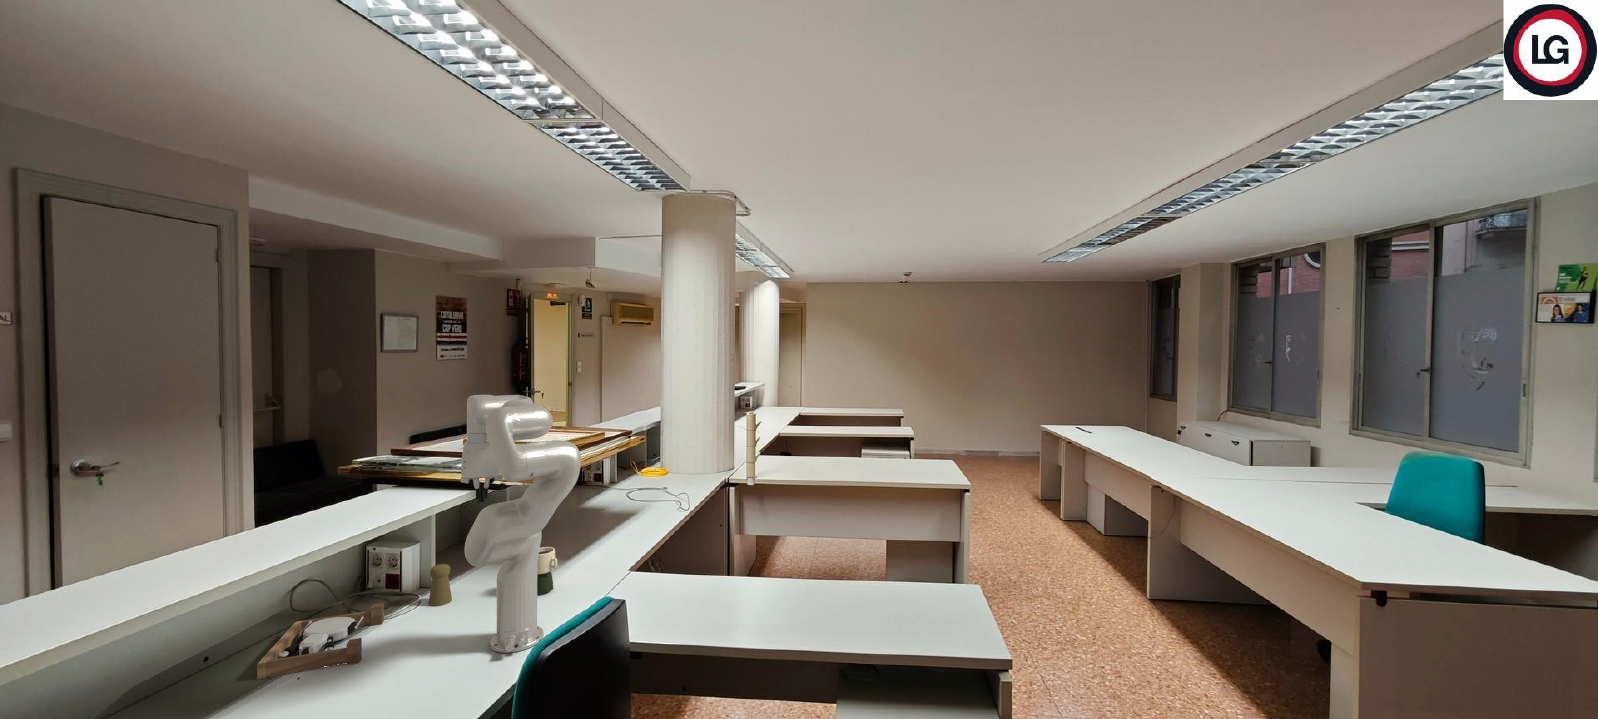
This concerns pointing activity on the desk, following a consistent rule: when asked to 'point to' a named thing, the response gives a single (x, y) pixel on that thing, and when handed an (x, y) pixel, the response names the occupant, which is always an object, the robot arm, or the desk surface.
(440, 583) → the cork
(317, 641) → the robot toy
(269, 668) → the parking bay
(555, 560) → the character mug
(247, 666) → the desk surface
